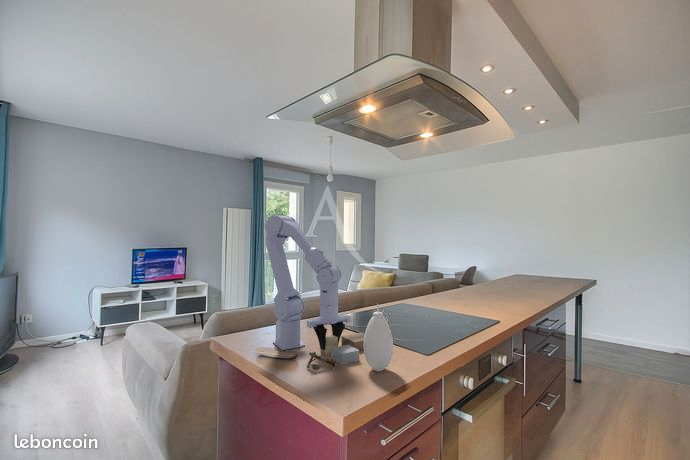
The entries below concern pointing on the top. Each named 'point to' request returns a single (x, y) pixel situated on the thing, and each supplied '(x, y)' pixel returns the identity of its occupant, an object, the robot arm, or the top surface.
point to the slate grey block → (345, 354)
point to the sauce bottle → (378, 342)
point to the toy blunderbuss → (332, 363)
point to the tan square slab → (353, 340)
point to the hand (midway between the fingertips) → (329, 347)
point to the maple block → (330, 344)
